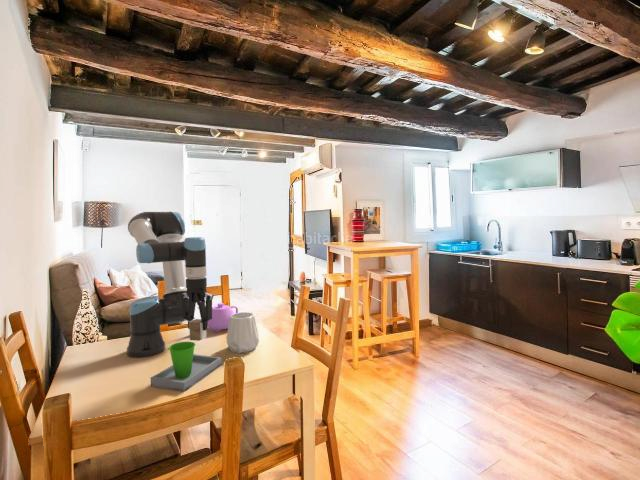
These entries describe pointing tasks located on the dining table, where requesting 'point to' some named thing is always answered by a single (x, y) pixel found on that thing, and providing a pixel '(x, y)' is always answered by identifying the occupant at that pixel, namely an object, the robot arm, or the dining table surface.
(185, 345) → the cup
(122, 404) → the dining table surface
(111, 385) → the dining table surface
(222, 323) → the teapot
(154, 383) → the tray
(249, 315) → the vase
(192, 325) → the walnut block
